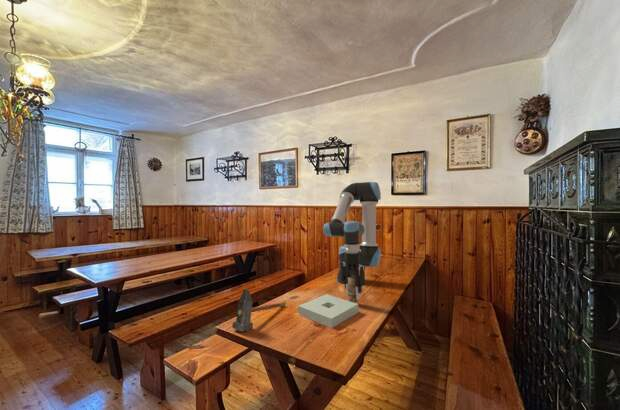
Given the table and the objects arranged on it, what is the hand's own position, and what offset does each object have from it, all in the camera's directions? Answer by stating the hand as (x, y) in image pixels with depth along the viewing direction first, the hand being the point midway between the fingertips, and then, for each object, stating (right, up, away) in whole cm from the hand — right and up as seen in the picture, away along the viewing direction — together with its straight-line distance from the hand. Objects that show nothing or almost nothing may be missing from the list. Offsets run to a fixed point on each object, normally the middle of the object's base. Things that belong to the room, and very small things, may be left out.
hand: (353, 297), depth 131 cm
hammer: (-44, -5, -12) cm, 46 cm away
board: (-13, -4, -10) cm, 17 cm away
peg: (0, -2, 0) cm, 2 cm away
